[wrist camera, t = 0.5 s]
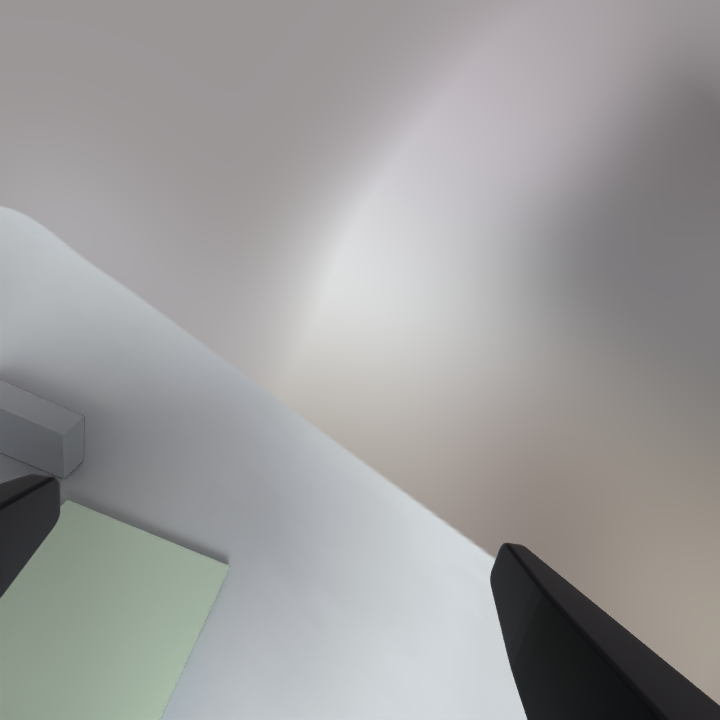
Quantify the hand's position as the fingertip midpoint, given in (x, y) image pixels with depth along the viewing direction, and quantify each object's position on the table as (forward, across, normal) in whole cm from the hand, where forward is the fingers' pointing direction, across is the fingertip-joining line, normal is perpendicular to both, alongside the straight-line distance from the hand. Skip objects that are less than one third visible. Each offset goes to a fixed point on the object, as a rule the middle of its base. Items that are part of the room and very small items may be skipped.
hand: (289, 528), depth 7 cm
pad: (+5, +7, +10) cm, 13 cm away
